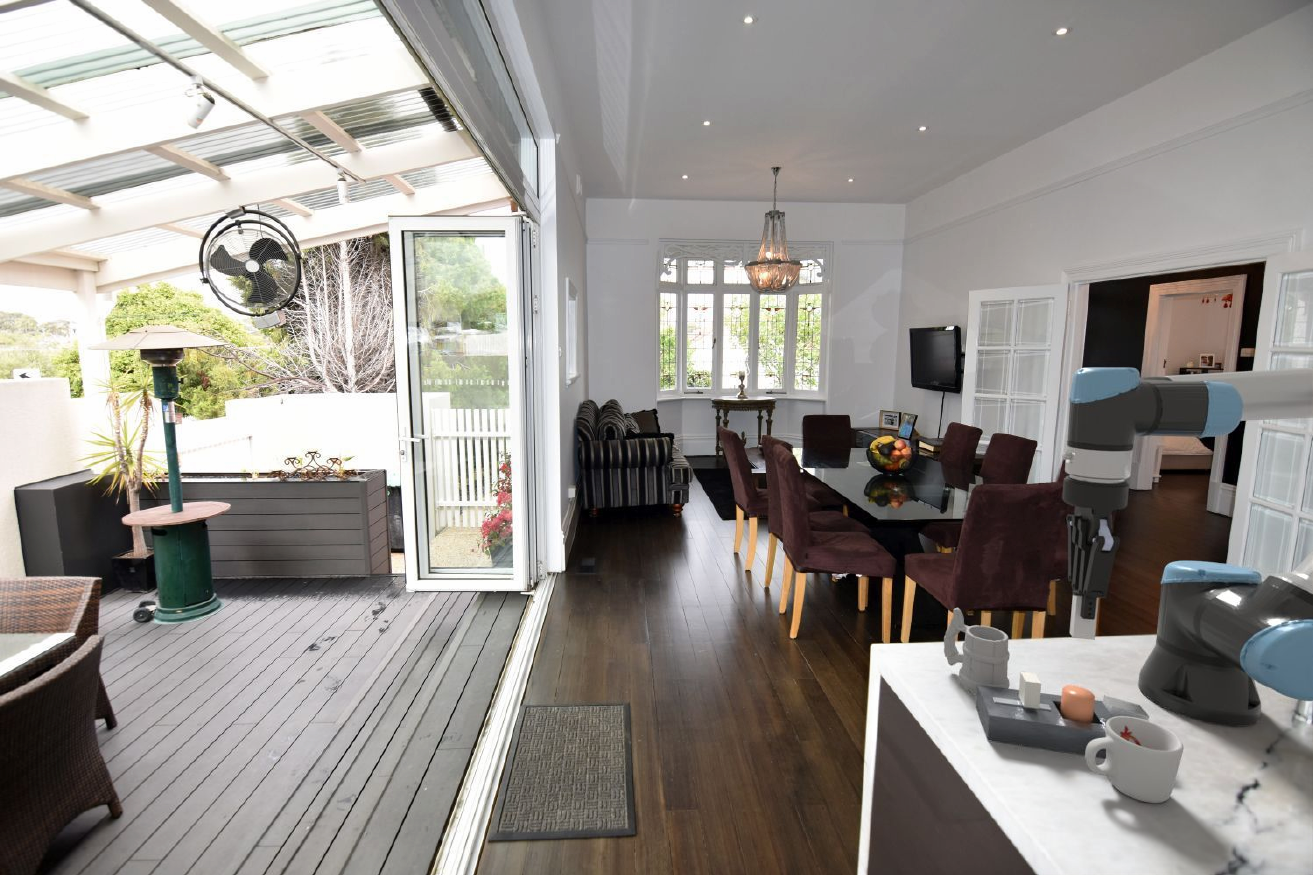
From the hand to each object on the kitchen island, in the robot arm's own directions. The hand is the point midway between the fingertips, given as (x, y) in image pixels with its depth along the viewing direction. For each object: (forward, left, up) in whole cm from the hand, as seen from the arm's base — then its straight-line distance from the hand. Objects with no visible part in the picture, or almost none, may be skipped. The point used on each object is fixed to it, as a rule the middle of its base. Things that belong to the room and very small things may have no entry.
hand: (1082, 636), depth 90 cm
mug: (+11, -13, -16) cm, 24 cm away
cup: (-3, +11, -16) cm, 20 cm away
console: (+2, 0, -16) cm, 16 cm away
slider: (+6, 0, -11) cm, 13 cm away
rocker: (-6, 0, -10) cm, 12 cm away
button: (0, 0, -14) cm, 14 cm away
